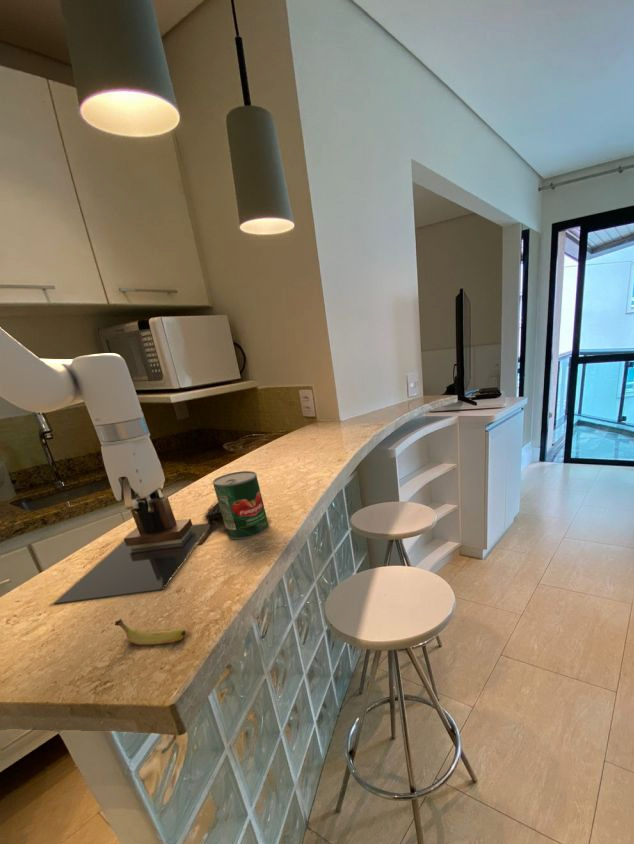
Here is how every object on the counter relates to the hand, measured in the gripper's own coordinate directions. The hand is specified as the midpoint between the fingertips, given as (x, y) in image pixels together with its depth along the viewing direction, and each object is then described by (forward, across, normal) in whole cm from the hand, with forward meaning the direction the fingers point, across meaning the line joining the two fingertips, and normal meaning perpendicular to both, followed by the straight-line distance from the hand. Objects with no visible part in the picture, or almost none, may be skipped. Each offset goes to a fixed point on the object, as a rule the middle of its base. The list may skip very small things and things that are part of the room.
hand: (158, 527), depth 77 cm
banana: (+4, +31, +12) cm, 33 cm away
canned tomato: (+4, -1, +16) cm, 16 cm away
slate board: (+4, +7, 0) cm, 8 cm away
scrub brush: (+3, 0, 0) cm, 3 cm away
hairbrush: (+4, -17, +8) cm, 19 cm away
